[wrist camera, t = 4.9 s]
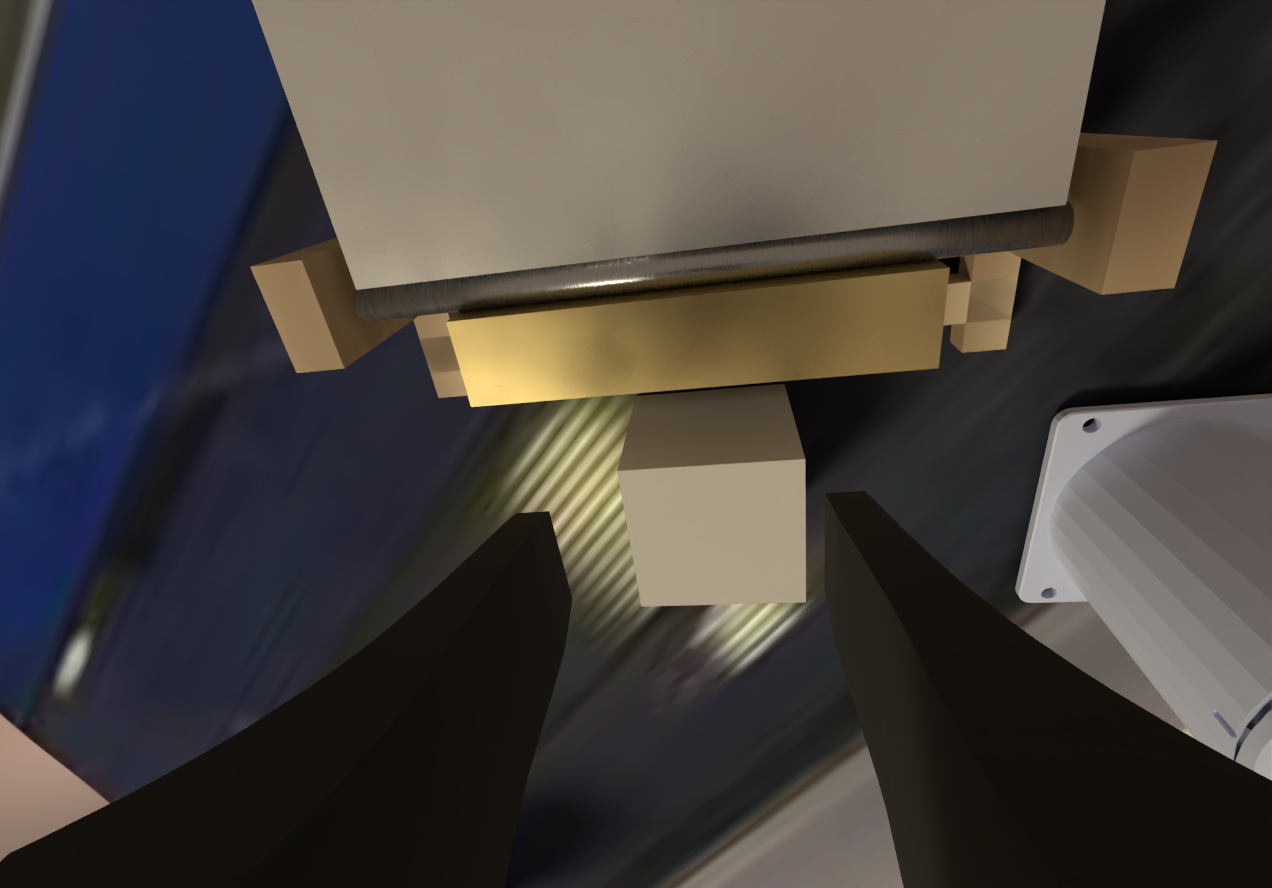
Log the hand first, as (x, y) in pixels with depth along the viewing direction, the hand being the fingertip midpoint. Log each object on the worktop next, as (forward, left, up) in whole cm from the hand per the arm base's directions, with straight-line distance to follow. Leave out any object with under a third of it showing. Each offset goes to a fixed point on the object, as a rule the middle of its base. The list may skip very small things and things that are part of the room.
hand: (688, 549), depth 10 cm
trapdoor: (0, -6, -5) cm, 8 cm away
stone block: (0, +4, -11) cm, 11 cm away
